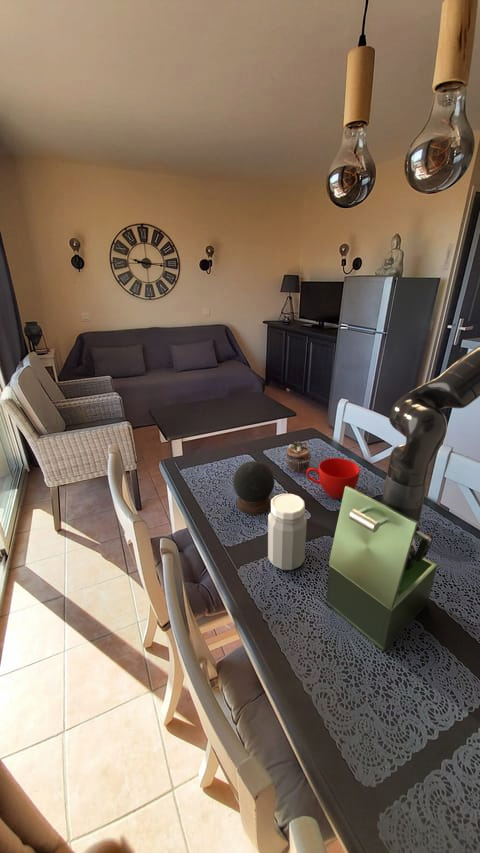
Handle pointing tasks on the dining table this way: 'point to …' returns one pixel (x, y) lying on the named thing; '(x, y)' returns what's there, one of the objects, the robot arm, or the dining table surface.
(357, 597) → the bin
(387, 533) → the green lid with handle
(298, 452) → the cupcake
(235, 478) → the dark sphere on stand
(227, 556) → the dining table surface
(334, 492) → the ceramic cup
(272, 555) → the jar
